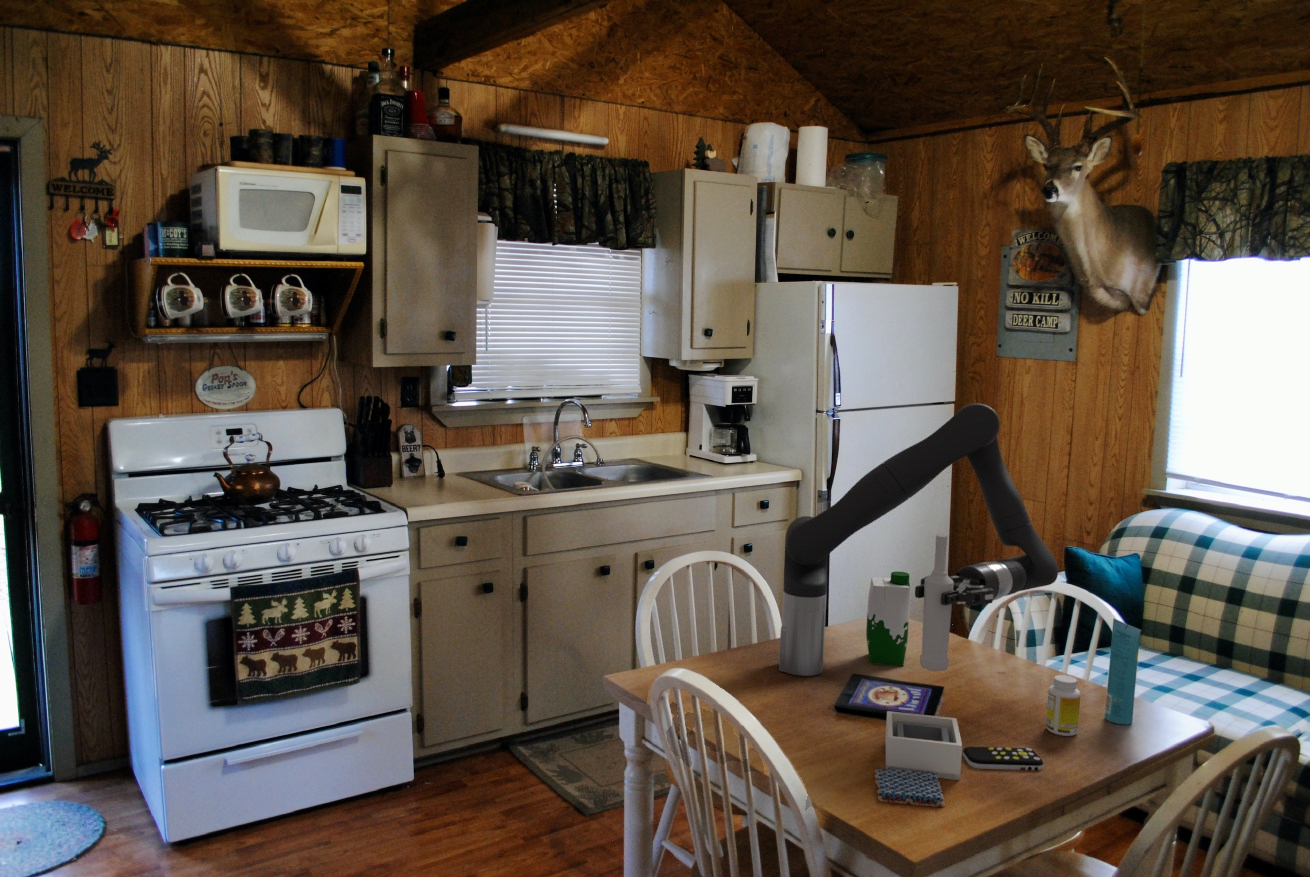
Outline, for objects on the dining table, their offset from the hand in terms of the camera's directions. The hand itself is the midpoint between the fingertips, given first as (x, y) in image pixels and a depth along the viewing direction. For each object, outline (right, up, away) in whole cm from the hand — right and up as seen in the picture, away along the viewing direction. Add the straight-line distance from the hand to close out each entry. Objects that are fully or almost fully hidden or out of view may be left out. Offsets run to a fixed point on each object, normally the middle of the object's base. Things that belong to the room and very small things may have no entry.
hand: (929, 595), depth 185 cm
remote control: (+10, -28, -9) cm, 31 cm away
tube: (+40, -26, +11) cm, 49 cm away
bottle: (+2, -14, +3) cm, 14 cm away
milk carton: (+1, -21, +42) cm, 47 cm away
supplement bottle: (+26, -26, +5) cm, 37 cm away
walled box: (-4, -27, -10) cm, 29 cm away
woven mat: (-9, -29, -21) cm, 37 cm away
